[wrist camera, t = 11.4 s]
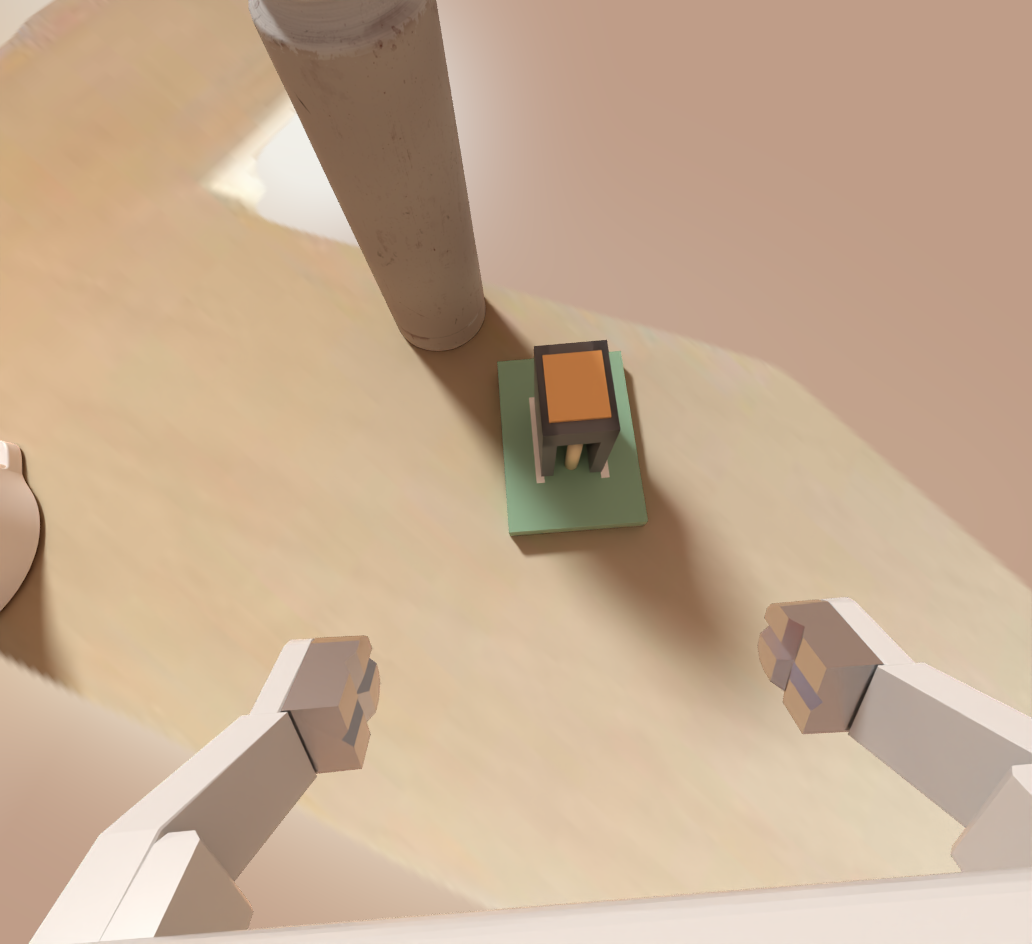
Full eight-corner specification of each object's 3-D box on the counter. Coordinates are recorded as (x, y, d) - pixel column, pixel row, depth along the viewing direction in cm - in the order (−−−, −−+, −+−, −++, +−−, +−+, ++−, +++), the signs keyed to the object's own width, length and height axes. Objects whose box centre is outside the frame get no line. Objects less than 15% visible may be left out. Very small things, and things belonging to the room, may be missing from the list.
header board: (643, 525, 35) (664, 507, 29) (510, 536, 35) (505, 519, 29) (617, 360, 39) (631, 316, 33) (498, 371, 39) (492, 328, 33)
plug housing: (601, 471, 34) (621, 428, 27) (541, 476, 34) (542, 435, 27) (591, 398, 36) (607, 338, 28) (534, 403, 36) (534, 344, 28)
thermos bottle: (377, 319, 41) (86, -232, 14) (437, 260, 43) (275, -331, 16) (444, 368, 39) (252, -156, 13) (504, 305, 41) (445, -276, 14)
